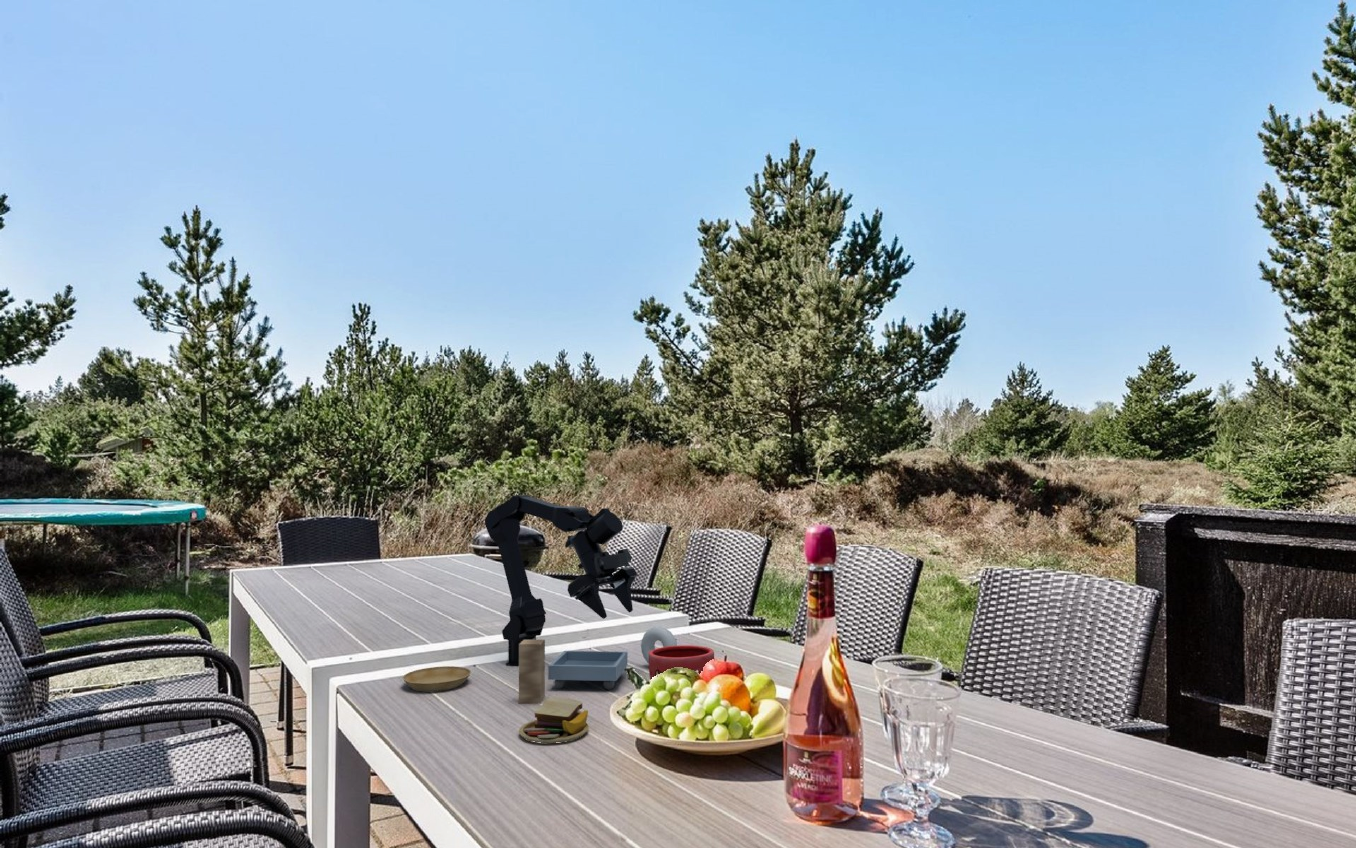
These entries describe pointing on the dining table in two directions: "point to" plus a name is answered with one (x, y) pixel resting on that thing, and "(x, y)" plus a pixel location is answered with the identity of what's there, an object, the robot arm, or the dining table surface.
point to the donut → (653, 636)
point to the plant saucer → (436, 678)
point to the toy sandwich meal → (556, 722)
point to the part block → (531, 671)
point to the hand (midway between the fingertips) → (618, 614)
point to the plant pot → (679, 658)
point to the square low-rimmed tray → (588, 667)
